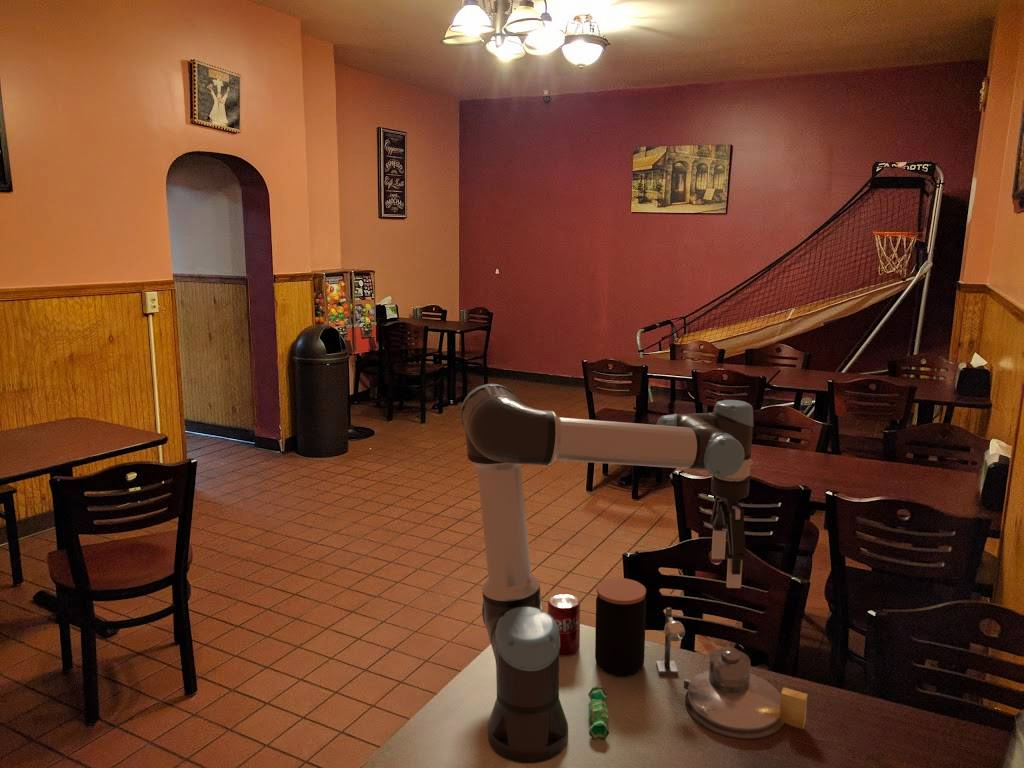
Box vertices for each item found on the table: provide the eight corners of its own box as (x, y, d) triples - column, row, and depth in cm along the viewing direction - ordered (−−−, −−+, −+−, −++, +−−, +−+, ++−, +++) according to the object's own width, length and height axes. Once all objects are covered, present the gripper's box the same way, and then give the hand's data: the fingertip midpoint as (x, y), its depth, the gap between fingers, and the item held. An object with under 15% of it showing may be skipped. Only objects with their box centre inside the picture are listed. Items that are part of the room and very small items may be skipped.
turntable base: (696, 739, 138) (696, 736, 138) (676, 679, 157) (677, 677, 156) (799, 740, 137) (799, 737, 137) (767, 680, 156) (767, 677, 156)
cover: (713, 692, 147) (715, 662, 146) (704, 669, 155) (706, 641, 154) (754, 693, 147) (756, 663, 146) (743, 670, 155) (744, 641, 153)
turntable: (698, 732, 138) (700, 704, 137) (679, 676, 156) (680, 650, 155) (812, 734, 138) (814, 705, 137) (780, 677, 155) (782, 651, 154)
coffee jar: (642, 652, 167) (644, 578, 163) (645, 680, 157) (648, 601, 153) (594, 650, 168) (595, 576, 165) (595, 677, 158) (596, 599, 154)
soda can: (545, 641, 172) (545, 594, 169) (576, 639, 172) (576, 592, 170) (550, 659, 165) (550, 609, 162) (582, 657, 165) (583, 607, 163)
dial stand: (663, 689, 153) (665, 623, 150) (656, 664, 162) (658, 601, 159) (682, 689, 153) (685, 623, 150) (674, 664, 162) (676, 601, 159)
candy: (612, 737, 138) (600, 720, 137) (597, 745, 138) (585, 728, 138) (610, 698, 149) (599, 682, 149) (596, 706, 150) (584, 690, 150)
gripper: (767, 496, 139) (760, 601, 143) (733, 457, 163) (729, 547, 168) (726, 496, 139) (721, 600, 143) (699, 457, 164) (695, 547, 168)
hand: (725, 572), depth 156 cm, fingers open, 13 cm apart
